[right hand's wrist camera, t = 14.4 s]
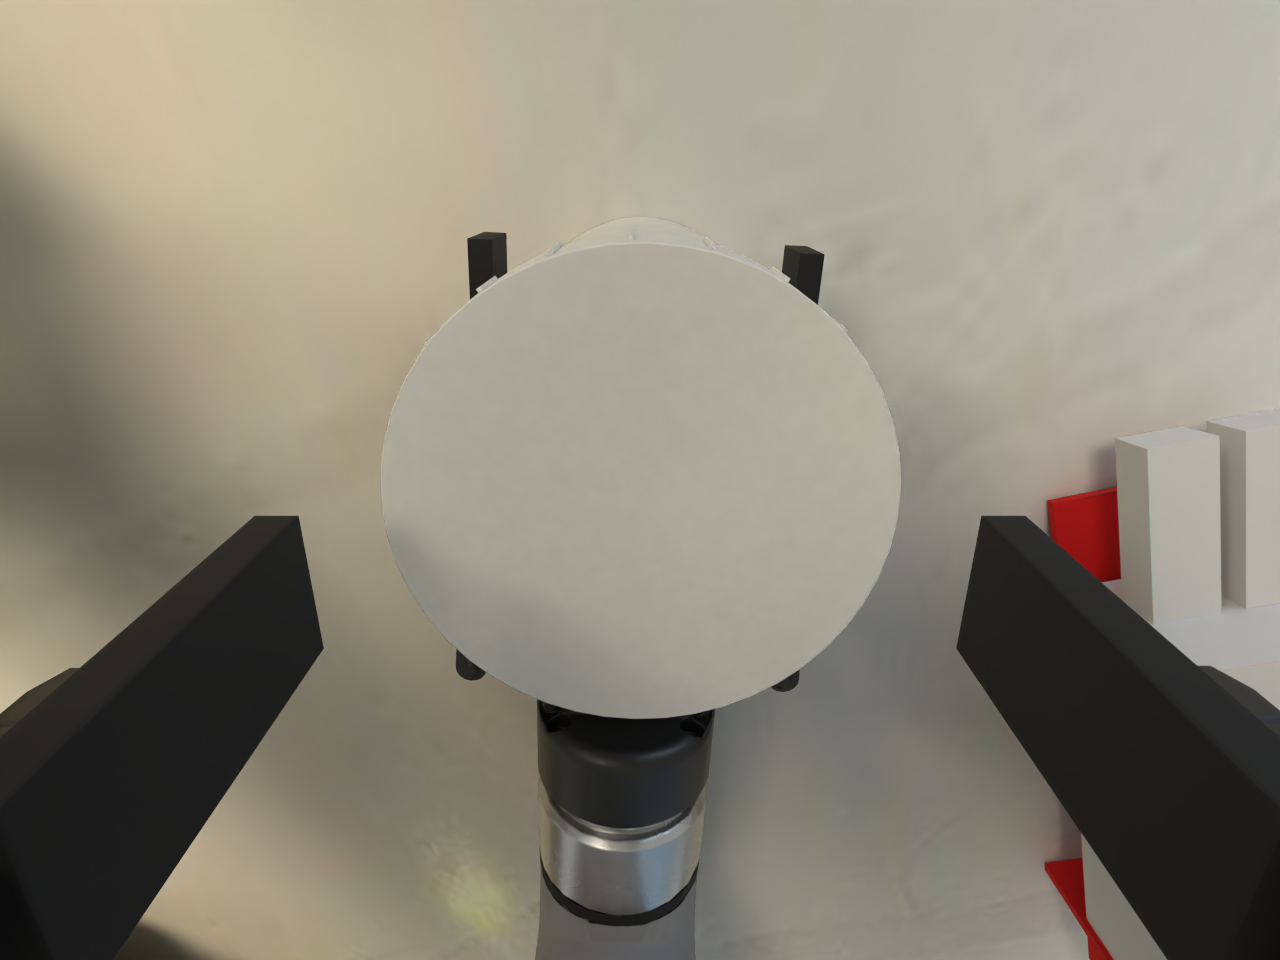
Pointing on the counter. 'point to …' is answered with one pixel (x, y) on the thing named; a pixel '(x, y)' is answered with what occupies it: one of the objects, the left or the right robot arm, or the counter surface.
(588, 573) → the lid
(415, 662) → the counter surface
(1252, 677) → the toy
